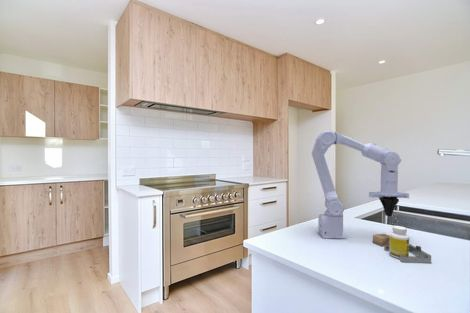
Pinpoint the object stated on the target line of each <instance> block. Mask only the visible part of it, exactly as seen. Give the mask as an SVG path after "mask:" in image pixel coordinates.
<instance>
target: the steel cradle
mask: <svg viewBox="0 0 470 313" xmlns="http://www.w3.org/2000/svg"><path fill="white" fill-rule="evenodd" d="M389 249H390V245H384V246H383V250H384V251H386V252H389ZM410 253H411V254H412V255H411V256H410V255H409V256H400V259H399V262H401V263H410V264H412V263H415V264H416V263H417V264H432V255H431V254H429V253H427V252H426V251H423V250H422V246H420V245H415V246H414V245H413V244H411V243H409V254H410ZM413 255H414V256H413Z"/></svg>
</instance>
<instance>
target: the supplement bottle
mask: <svg viewBox="0 0 470 313" xmlns="http://www.w3.org/2000/svg"><path fill="white" fill-rule="evenodd" d="M391 230H392V232H390V233H389V235H390V249H389V251H388V252H389V255H390V256H391V257H393V258H395V259H399V260H400V256H410V255H409V254H410V252H409V244H410V237H409V235H408V234H407V231H408V228H406V227H404V226H401V225H393V226H392V229H391Z"/></svg>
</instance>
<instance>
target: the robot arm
mask: <svg viewBox="0 0 470 313" xmlns="http://www.w3.org/2000/svg"><path fill="white" fill-rule="evenodd" d="M333 145H335V146H336V145H343V146H346V147H348V148H351V149H353V150H356V151H359V152H361V155H362V157H365V158H367V159H369V160H373V161H375V162H377V163H379V164H380V191H368V197H369V198H372V199H375V198H378V199H379V201H380V203H381V206H382V207H383V210H384V215H385V216H387V217H392V216H393V213H394V210H395V207H396V206H397V204H398V203H399V200H400V199H410V193H409V192H399V191H398V185H399V184H398V181H399V180H398V178H399V170H398V169H399V165H400V163H401V161H402V159H401V157H400V155H399V154H398V153H397V152H395V151H389V149H388V148H383V147H381V146H378V145H377V143H375V142H372V143H370V142H368V143H365V144H364V143H363V142H361V141H357V140H355V139H353V138H351V137H349V136H347V135H345V134H342V133H339V132H334V131H332V130H324V131H322V132H321V133H320V134H319V135H318V136H317V138H316V139H315V141H314V144H313V146H312V147H313V148H312V150H311V156H312V160H313V162H314V166H315V169H316V172H317V175H318V178H319V182H320V185H321V189H322V192H323V193H324V195H323V196H324V199H325V200H324V206H325V208H326V210H325V211H324V213H321V214H319V215H318V217H317V218H318V220H317V221H318V225H317V226H318V229H317V232H318V234H319V235H320V236H321V238H323V239H341V240H342V239H348V238H347V236H346V235H345V234H344V211H345V206H344V204H343V203H342V202H341V201H340V198H339V196H338V193H337V192H336V189H335V185H334V183H333V180H332V176H331V173H330V170H329V167H328V164H327V161H326V158H325V154H326V152H327V151H328V149H329V148H330V147H332V146H333Z"/></svg>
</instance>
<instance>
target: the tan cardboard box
mask: <svg viewBox="0 0 470 313" xmlns="http://www.w3.org/2000/svg"><path fill="white" fill-rule="evenodd" d="M372 243H373V244H375V245H378V246H380V247H384V245H390V234H386V233H379V234H373V235H372Z"/></svg>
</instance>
